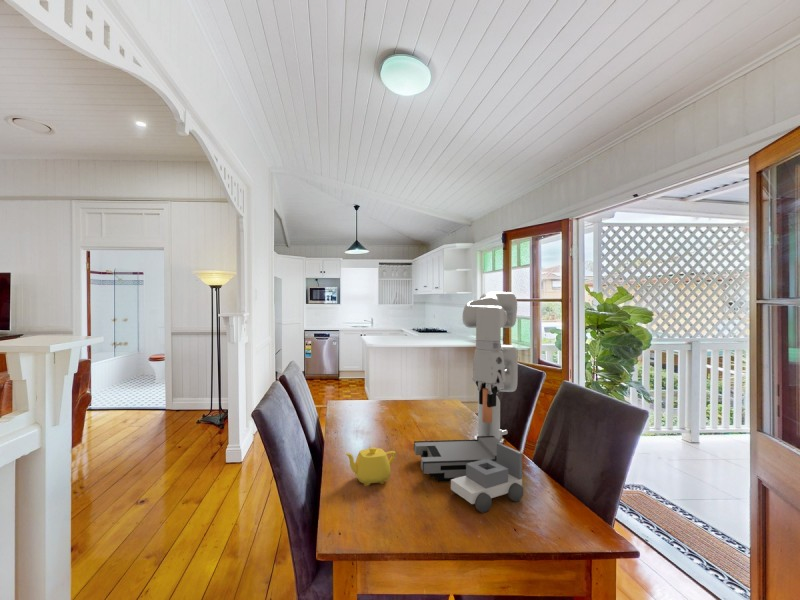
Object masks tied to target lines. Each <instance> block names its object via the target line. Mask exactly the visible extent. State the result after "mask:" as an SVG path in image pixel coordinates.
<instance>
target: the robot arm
mask: <svg viewBox="0 0 800 600" xmlns="http://www.w3.org/2000/svg"><path fill="white" fill-rule="evenodd" d="M517 300H518V299H517V297H516V295H515V294H514V293H513V292H510V291H507V292H506V291H488V292H485V293H482V295H481V296H480V297H479V299H475V300H471V301H468V302H466V304H465V305H464V308H463V310H462V322H463V325H464V326H465V327H466V328H468V329H475V350H474V355H473V361H472V362H473V363H472V382H474V384H475V385H476V387H477V434H476V435H474V437H473V440H477V436H494V437H495V438H496V439H498V440H499V441H500V442H501V443H502V444H503V443H504V440H505V439H504V437H503V436H504V435H508V433H509V432H508V430H507V429H501V401H500V398H499V397H498V395H497V394H499V392H505V393H506V392H507V393H513V392H516V390H517V387H518V379H519V378H518V375H519V374H518V373H519V371H518V366H519V364H518V363H519V361H518V360H519V359H518V350H517V348H516V347H515V346H513V345H511V344H502V340H501V337H502V336H501V335H502V334H501V333H502V332H501V331H502V329H501V328H504V329H505V328H506V329H507V328H513V327H514V326H516V322H517V314H518V301H517ZM483 388H488V389H489V394H487V407H492V423H485V422H483V421H482V410H483Z"/></svg>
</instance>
